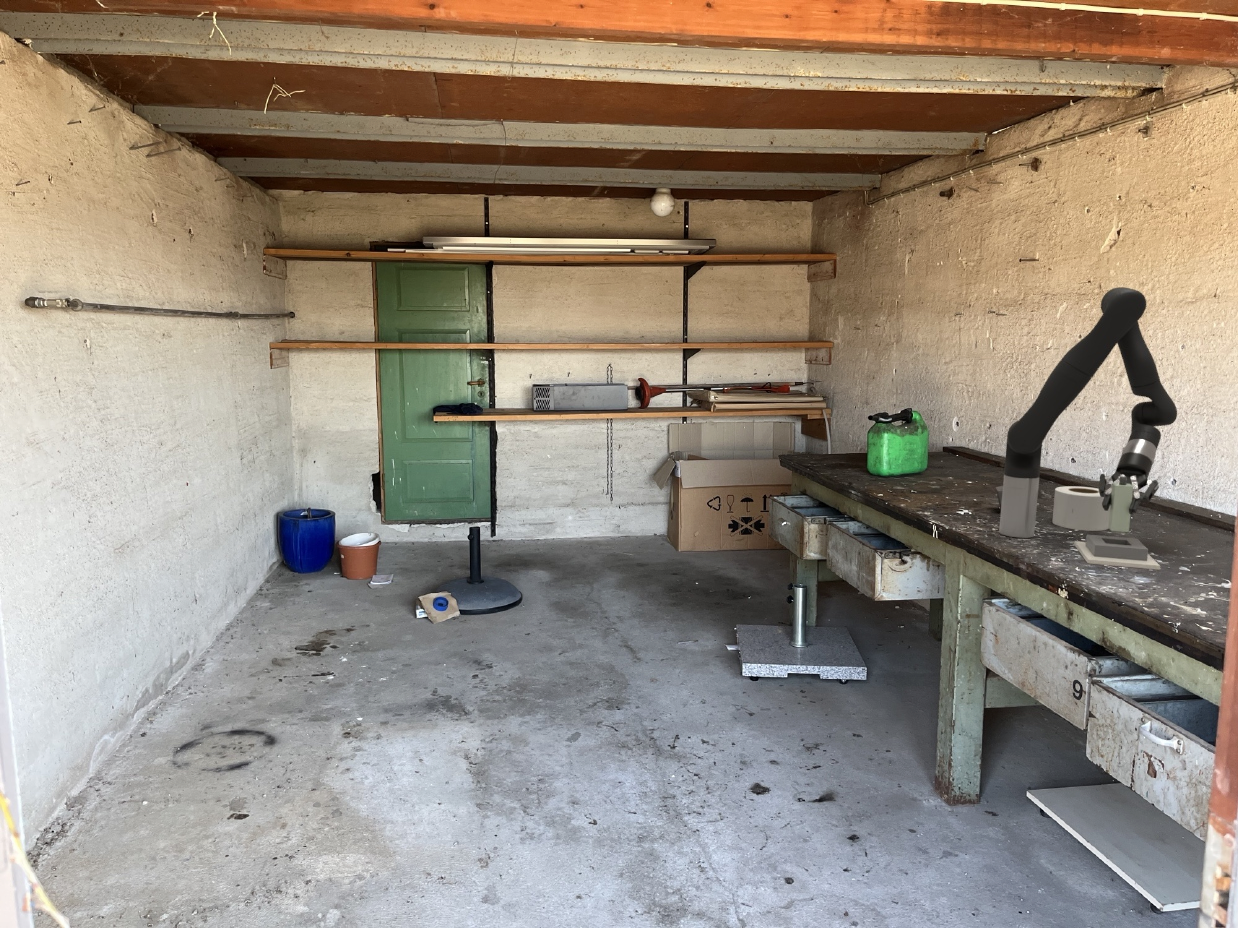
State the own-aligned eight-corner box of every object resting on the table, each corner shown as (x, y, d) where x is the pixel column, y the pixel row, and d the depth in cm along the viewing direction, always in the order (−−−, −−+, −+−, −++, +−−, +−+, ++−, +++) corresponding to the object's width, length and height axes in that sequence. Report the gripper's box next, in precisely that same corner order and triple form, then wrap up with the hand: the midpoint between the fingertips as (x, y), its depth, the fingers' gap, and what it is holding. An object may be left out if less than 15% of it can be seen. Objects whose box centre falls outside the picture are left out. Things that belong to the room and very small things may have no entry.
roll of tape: (1076, 532, 253) (1080, 496, 252) (1040, 520, 268) (1044, 486, 266) (1121, 530, 256) (1125, 494, 255) (1084, 518, 271) (1087, 485, 270)
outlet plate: (1074, 544, 238) (1075, 530, 237) (1140, 550, 233) (1141, 535, 232) (1087, 563, 219) (1089, 548, 219) (1159, 569, 214) (1161, 554, 214)
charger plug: (1108, 527, 227) (1113, 475, 225) (1125, 528, 226) (1130, 476, 224) (1111, 530, 224) (1116, 477, 221) (1128, 532, 222) (1133, 478, 220)
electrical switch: (1016, 515, 274) (1015, 487, 273) (998, 516, 276) (998, 487, 274) (1012, 510, 283) (1012, 482, 282) (995, 510, 284) (995, 482, 283)
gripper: (1104, 448, 232) (1085, 498, 226) (1165, 454, 222) (1147, 506, 215) (1109, 465, 236) (1090, 514, 230) (1169, 472, 226) (1151, 523, 220)
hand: (1118, 510), depth 223 cm, fingers closed on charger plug, 5 cm apart
